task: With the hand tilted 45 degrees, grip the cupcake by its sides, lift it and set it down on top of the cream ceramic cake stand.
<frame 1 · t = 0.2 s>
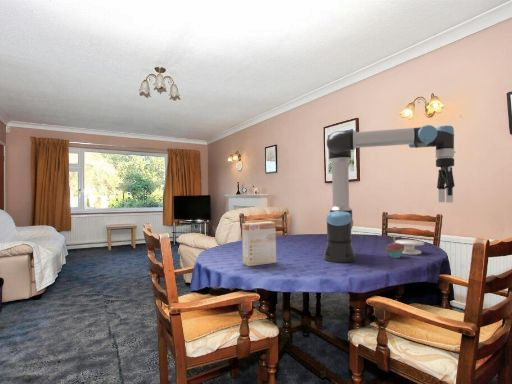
hand: (445, 202, 145), 28 cm above the table, tool pointing down, fingers open, 13 cm apart
cake stand: (409, 252, 164), on the table
coffeecake box: (259, 263, 144), on the table
cupcake: (395, 257, 153), on the table
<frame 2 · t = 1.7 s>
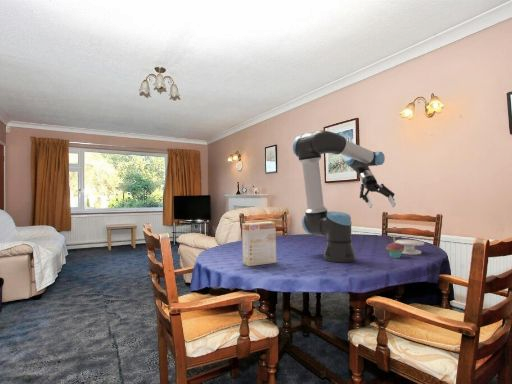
hand: (382, 205, 164), 26 cm above the table, tool tilted 45°, fingers open, 13 cm apart
nothing on the table moved.
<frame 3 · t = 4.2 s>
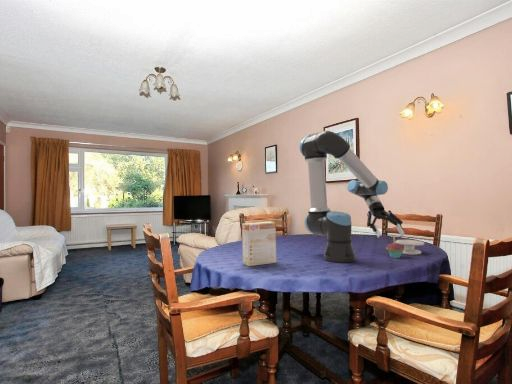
hand: (391, 235, 159), 10 cm above the table, tool tilted 45°, fingers open, 13 cm apart
nothing on the table moved.
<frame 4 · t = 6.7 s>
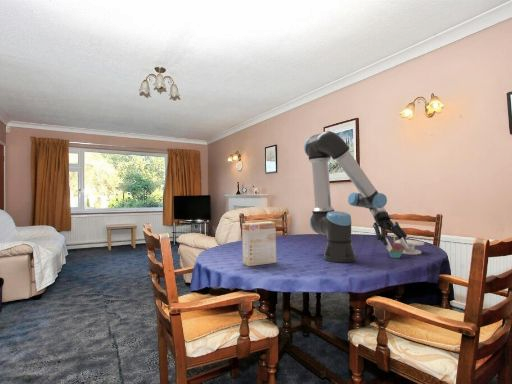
hand: (399, 249, 150), 4 cm above the table, tool tilted 45°, fingers closed on cupcake, 8 cm apart
cupcake: (395, 257, 153), on the table, touching gripper
everything else where it was.
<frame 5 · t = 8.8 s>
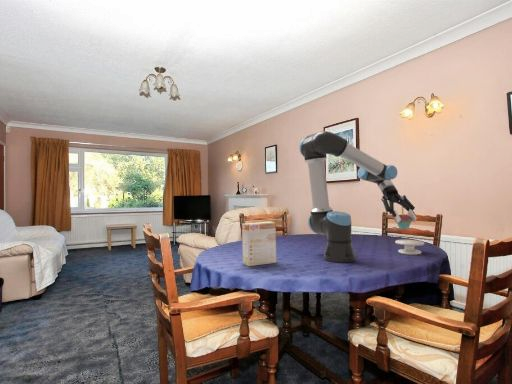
hand: (407, 220, 155), 18 cm above the table, tool tilted 45°, fingers closed on cupcake, 8 cm apart
cupcake: (403, 228, 158), point 14 cm above the table, touching gripper
everything else where it was.
when the fingers open (12 cm above the table, at t = 10.9 s): cupcake drops 1 cm, resting on cake stand.
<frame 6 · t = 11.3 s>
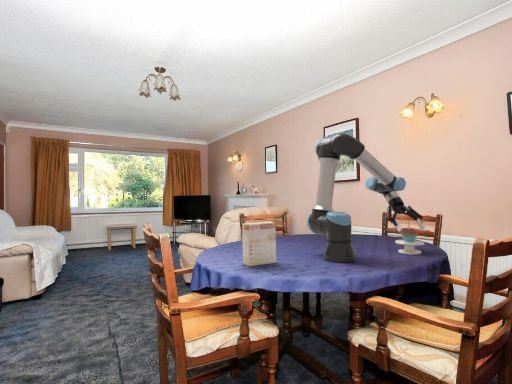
hand: (412, 229, 161), 13 cm above the table, tool tilted 45°, fingers open, 13 cm apart
cupcake: (408, 241, 164), point 6 cm above the table, touching cake stand
everything else where it was.
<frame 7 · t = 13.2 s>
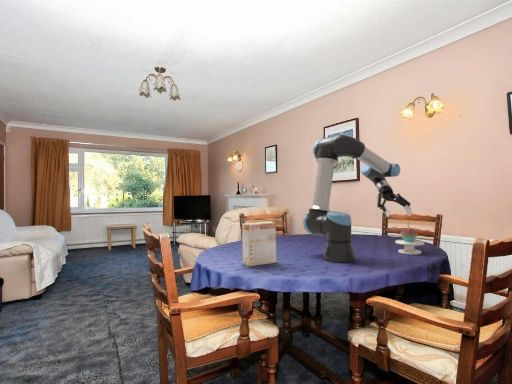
hand: (400, 215, 171), 20 cm above the table, tool tilted 45°, fingers open, 13 cm apart
nothing on the table moved.
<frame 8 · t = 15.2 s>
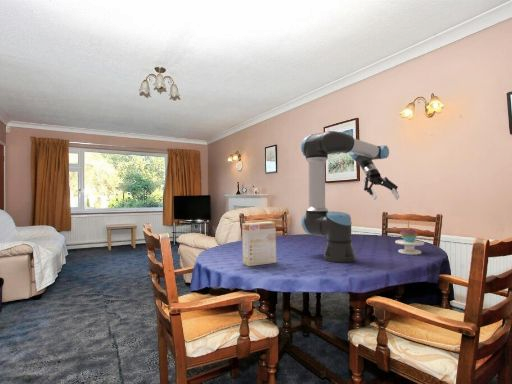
hand: (386, 198, 169), 30 cm above the table, tool tilted 45°, fingers open, 13 cm apart
nothing on the table moved.
at the end: cupcake inside the target area on the cake stand (0.2 cm from its centre), point 5.8 cm above the cake stand's base; cupcake tilted 0°; the gripper is holding nothing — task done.
